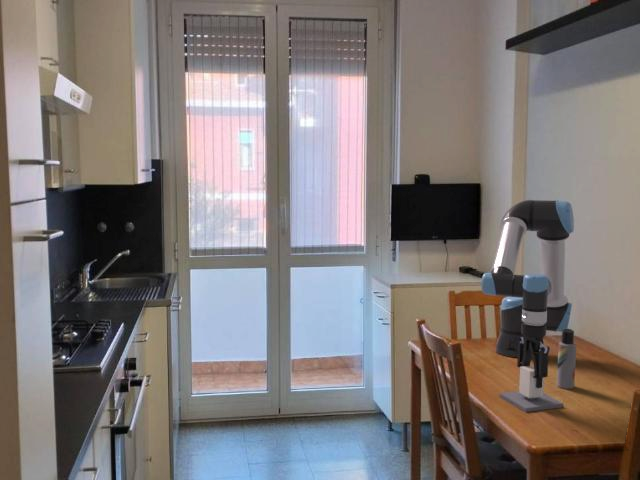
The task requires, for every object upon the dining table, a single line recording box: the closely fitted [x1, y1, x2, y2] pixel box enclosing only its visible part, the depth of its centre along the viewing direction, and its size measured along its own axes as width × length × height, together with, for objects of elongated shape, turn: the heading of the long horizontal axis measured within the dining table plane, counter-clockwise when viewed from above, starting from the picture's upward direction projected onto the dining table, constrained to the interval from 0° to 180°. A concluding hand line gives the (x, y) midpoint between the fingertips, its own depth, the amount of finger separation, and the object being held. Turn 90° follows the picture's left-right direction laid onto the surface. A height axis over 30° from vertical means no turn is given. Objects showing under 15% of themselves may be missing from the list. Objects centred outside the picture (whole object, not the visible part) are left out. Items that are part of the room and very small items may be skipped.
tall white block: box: [518, 364, 545, 398], centre depth 209 cm, size 5×5×9 cm
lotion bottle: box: [556, 328, 577, 390], centre depth 224 cm, size 6×6×20 cm
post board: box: [499, 390, 564, 413], centre depth 209 cm, size 14×14×8 cm
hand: (530, 393), depth 209 cm, fingers closed on tall white block, 5 cm apart
